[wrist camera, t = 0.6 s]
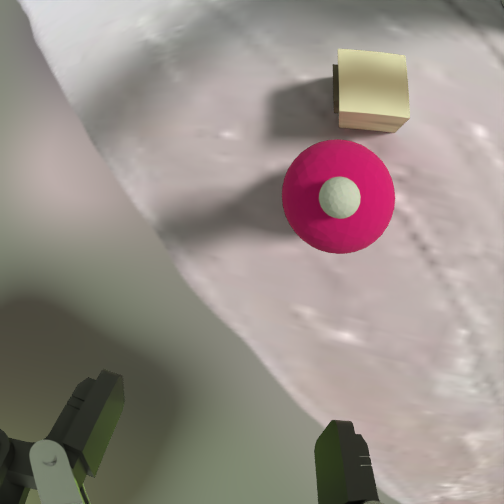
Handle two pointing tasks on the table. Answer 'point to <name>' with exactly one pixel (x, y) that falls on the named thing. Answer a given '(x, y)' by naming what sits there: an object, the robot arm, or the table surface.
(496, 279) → the table surface
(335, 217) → the pepper mill
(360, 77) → the pale yellow cube-like block
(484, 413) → the table surface
